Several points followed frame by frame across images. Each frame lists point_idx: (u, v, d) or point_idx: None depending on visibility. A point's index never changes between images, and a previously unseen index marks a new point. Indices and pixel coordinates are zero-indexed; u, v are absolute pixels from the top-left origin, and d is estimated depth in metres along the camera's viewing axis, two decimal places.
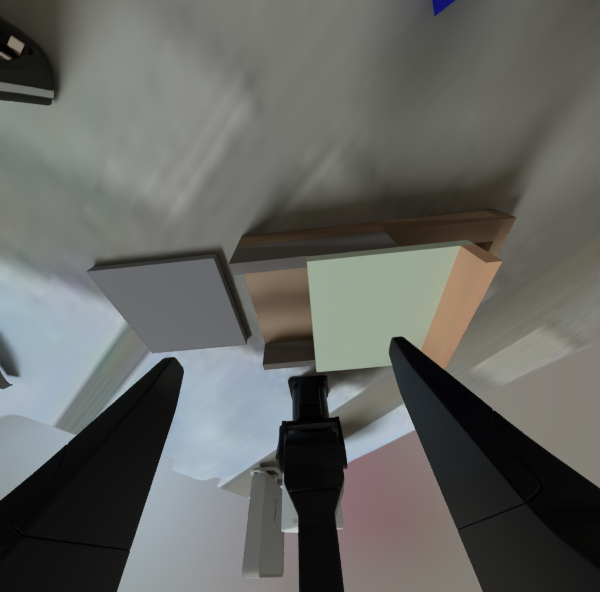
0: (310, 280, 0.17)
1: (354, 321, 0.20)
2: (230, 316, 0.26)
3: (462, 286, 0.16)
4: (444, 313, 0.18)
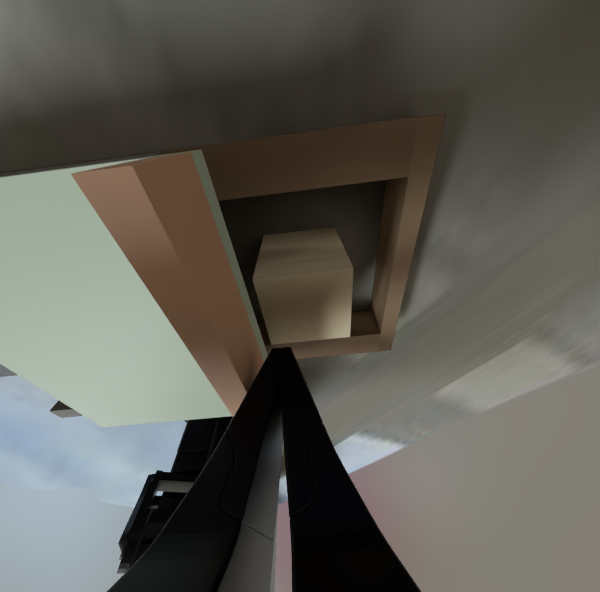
0: None
1: (73, 351, 0.10)
2: None
3: None
4: None
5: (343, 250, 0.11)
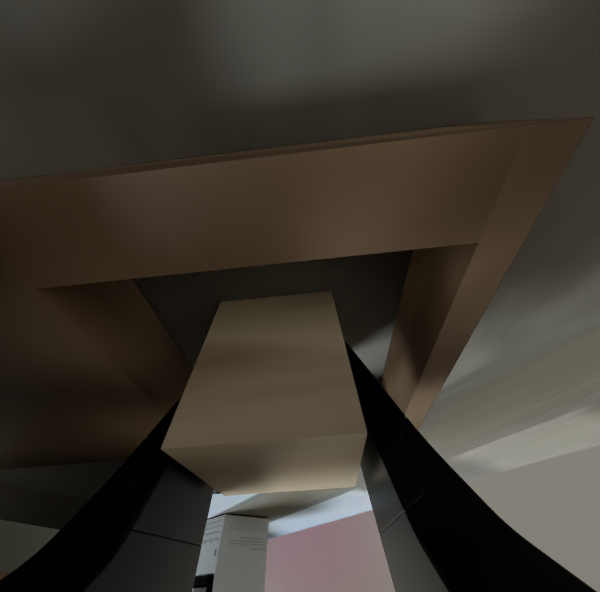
0: None
1: None
2: None
3: None
4: None
5: (345, 362, 0.06)
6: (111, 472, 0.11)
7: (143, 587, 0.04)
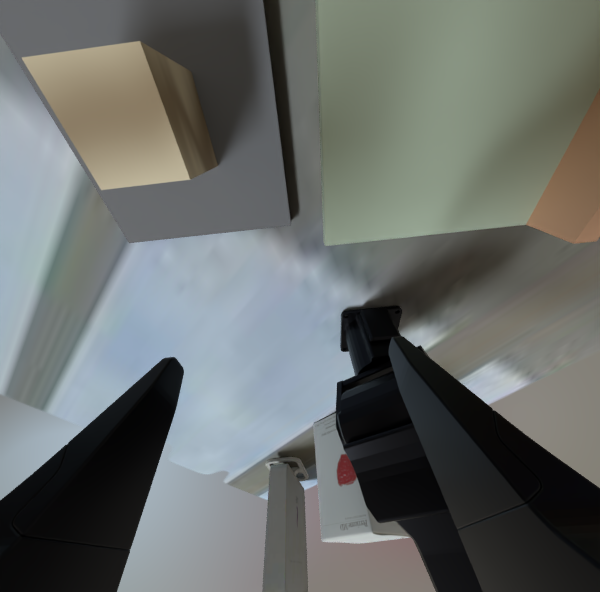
0: None
1: (428, 36, 0.08)
2: (271, 144, 0.14)
3: None
4: None
5: (160, 54, 0.09)
6: None
7: None
